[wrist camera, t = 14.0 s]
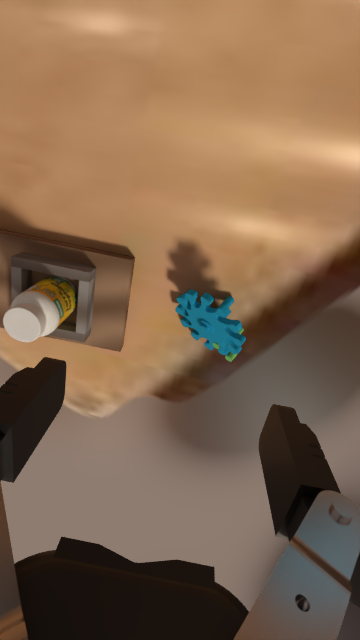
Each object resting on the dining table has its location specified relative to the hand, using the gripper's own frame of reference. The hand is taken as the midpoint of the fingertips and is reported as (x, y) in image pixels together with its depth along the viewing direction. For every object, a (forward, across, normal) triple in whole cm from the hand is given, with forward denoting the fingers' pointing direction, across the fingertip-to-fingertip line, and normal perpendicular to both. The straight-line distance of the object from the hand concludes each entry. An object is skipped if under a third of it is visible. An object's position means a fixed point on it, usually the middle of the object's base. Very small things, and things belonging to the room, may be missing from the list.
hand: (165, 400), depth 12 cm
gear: (+30, -4, +8) cm, 32 cm away
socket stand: (+30, +16, +9) cm, 35 cm away
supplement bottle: (+29, +16, +9) cm, 34 cm away
